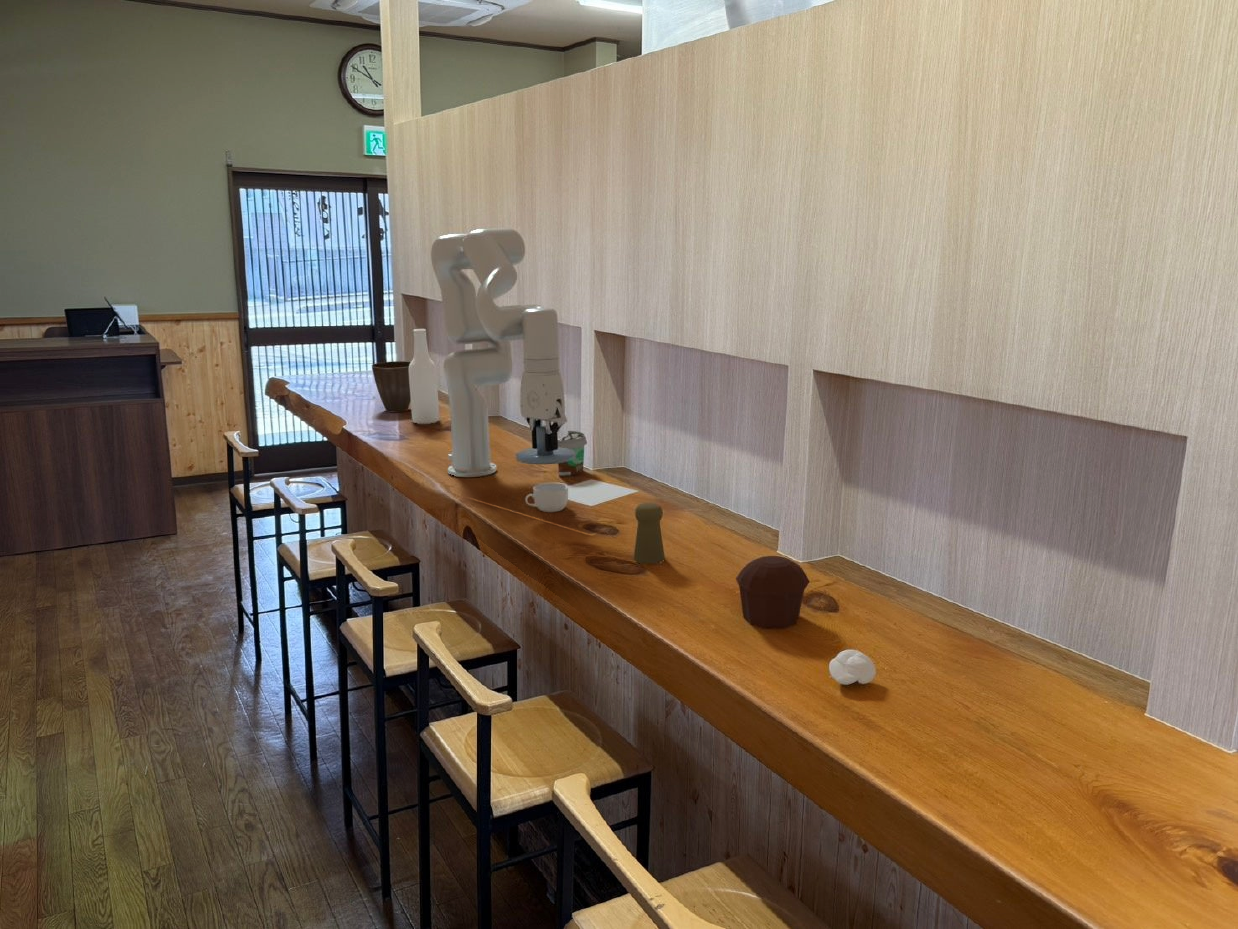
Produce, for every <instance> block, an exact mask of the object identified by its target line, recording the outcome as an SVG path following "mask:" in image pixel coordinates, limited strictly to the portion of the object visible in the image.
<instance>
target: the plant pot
mask: <svg viewBox="0 0 1238 929" xmlns="http://www.w3.org/2000/svg"><path fill="white" fill-rule="evenodd" d="M410 363H411V361H401V360H398V361H383V362H377V363H373V364H371V369H372V370H371V371H372V374H373V378H374V383H375V386H376V388H377V392H378V394H379V397H380V400H381V402H382V405H383V407H384V409H385V411H386V410H387V411H386V412H388V411H403V412H406V411H405V410H407V411H408V410H409V408H410V406H411V398H410V384H409V365H410Z"/></svg>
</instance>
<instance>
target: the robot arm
mask: <svg viewBox="0 0 1238 929" xmlns="http://www.w3.org/2000/svg"><path fill="white" fill-rule="evenodd" d="M525 254H526V246H525V242H524V239H523V237H522V235H521V234H520V233H519V232H518V231H516V230H515V229H513V228H480V229H475V230H471V231H470V232H468V233H453V234H451V233H450V234H446V235H441V236H439V237H437V238H436V239H435V240H434V241H433V243H432V245H431V251H430V257H431V266H432V269H433V272H434V275H435V277H436V280H437V282H438V286H439V288H440V295H441V304H442V312H443V322H444V329H445V333H446V337H447V339H448V341H449V342H450V343H451V344H454V345H472V344H473V345H474V344H484V343H486V345H487V347H486V348H485V347H484V348H470V349H462V350H461V349H460V350H456V351H453V352H451V353H449V354H447V356H446V357H445V359H444V361H443V366H442V367H443V374H444V378H445V382H446V387H447V393H448V401H449V413H450V414H449V415H450V429H451V445H452V448H451V449H452V451H451V454H450V453H449V454H447V456H446V457H447V460H450V461H451V465H450V466H448V467H447V473H448V474H449V475H450V474H451V475H450V476H452V475H454V476H453V477H458V478H477V477H478V478H479V477H486V476H489V475H492V474H494V473H496V472H497V470H498V468H497V464H495V463H493V462H491V449H490V448H491V447H490V444H491V443H490V428H489V427H490V425H489V412H488V411H489V410H488V403H487V400H486V398H484V396H483V395H482V394H481V393H480V392H479V389H478V388H481V387H485V386H494V385H501V384H505V383H507V382H509V381H510V379H511V378H512V375H513V359H512V348H511V341H523V370H524V371H522V374H521V378H520V379H521V380H520V391H519V393H520V395H519V396H520V397H519V399H520V400H519V401H520V402H519V406H520V415H521V417H523V418H524V420H526V423H527V424H528V425H529V427H528V428H529V430H530V431H531V446H532V448H533V449H537V438H536V427H537V426H543V421H544V423H545V425H546V431H547V433H546V434H545V450H546V451H547V452H550V451H554V450H557V449H558V438H559V437H558V433H559V432H560V429H561V428H562V427H563V425H565V424H567V423H568V419H567V416H566V414H565V413H566V412H565V411H566V408H565V407H566V406H565V404H566V403H565V402H566V401H565V393H564V385H563V383H564V382H563V379H562V375H561V372H560V354H559V353H560V350H559V349H560V348H559V324H558V320H559V318H558V313H557V311H556V310H555V309H553V308H550V307H544V306H542V305H539V304H523V305H521V304H520V305H505V306H499V305H497V304H496V303H495V300H497V299H499V298H500V297H502V296H503V295H505V294H507V293H509V292H510V291H511V290H512V289H513V288H514V286H515V285H516V283H517V280H518V272H517V269H516V268H515V266H517V265H518V264H521V262H523V260H524V258H525ZM464 270H472V271H473V273H474V275H476V278H477V279H478V282H479V283H480V286H479V288H478V290H477V292H476V287H475V284H474V283H473V281H472V279H471V278H470V277H469V275H467V274H466V273H465V272H464Z"/></svg>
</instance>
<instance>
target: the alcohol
mask: <svg viewBox="0 0 1238 929" xmlns="http://www.w3.org/2000/svg"><path fill="white" fill-rule="evenodd" d="M413 337H414V338H413V339H414V340H413V358H412V360H411V361H410V362H411V363H410V365H409V384H410V398H411V401H410V410H411V412H410V413H411V420H412V422H413V423H414V424H415V423H417V424H416V425H432V424H431V423H433V424H435V423H436V422H437V421H438V422H439V420H440V405H439V404H440V403H439V392H438V390H439V389H438V375H437V374H438V373H437V366H436V363H435V362H434V361H433V360H432V359H431V357H430V354H429V347H428V339H427V330H426V329H425V328H416V329H413ZM438 422H437V423H438ZM437 423H436V424H437Z"/></svg>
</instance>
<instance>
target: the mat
mask: <svg viewBox="0 0 1238 929" xmlns="http://www.w3.org/2000/svg"><path fill="white" fill-rule="evenodd" d="M638 492H640V491H639V490H636V489H632V488H630V487H629V488H628V487H624V486H622V485H621V486H620V485H616V484H611V483H608V482H604V481H600V480H597V479H591V478H590V479H587V480H584V481H581V482H577V483H574V484H570V485H568V501H570V502H574V503H577V504H582V505H585V506H589V507H593V506H597V505H599V504H600V505H601V504H604V503H607V502H609V501H612V500H616V499H619V498H622V497H623V498H624V497H626V496H629V495H632V494H635V493H638Z"/></svg>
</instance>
